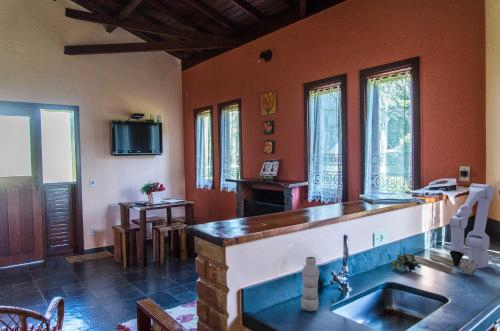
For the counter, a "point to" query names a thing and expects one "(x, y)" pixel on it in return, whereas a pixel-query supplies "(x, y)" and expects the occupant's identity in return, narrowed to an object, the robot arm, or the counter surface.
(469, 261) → the beige textured ball
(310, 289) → the plastic bottle
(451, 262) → the chute
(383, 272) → the counter surface
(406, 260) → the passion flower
